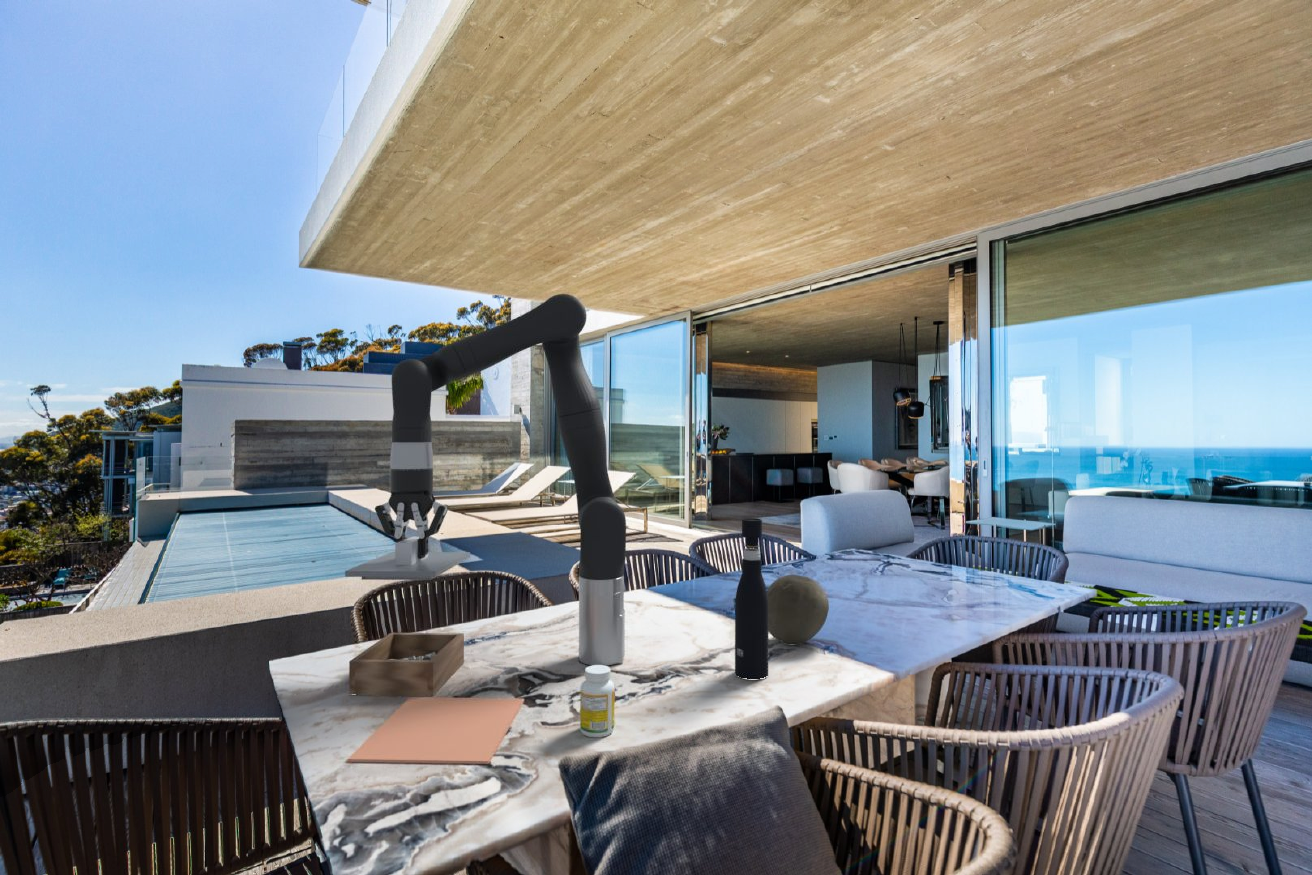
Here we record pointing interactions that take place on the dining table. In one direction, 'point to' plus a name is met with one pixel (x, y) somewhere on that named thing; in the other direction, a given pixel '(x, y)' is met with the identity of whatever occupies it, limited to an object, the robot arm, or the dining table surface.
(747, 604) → the black water bottle
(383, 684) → the box
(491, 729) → the mat
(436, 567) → the lid
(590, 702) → the supplement bottle
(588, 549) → the robot arm
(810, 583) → the cantaloupe
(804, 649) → the dining table surface
